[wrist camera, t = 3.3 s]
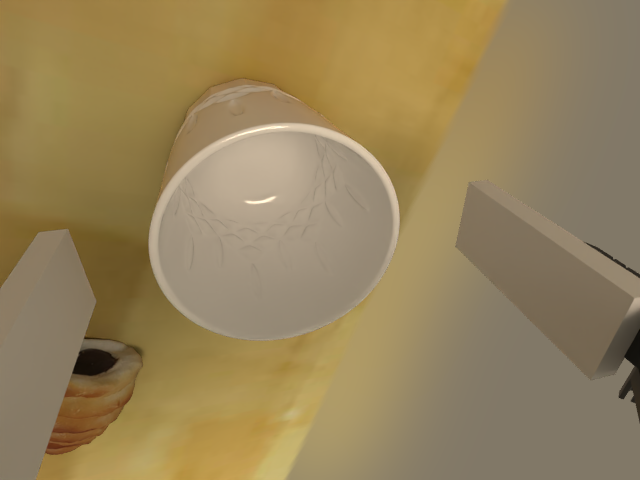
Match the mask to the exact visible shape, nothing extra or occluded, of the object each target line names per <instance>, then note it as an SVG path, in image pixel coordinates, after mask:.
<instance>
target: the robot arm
mask: <svg viewBox="0 0 640 480" xmlns="http://www.w3.org/2000/svg"><path fill="white" fill-rule="evenodd" d="M456 247H457V248H458V250H459V251H461V253H463V254H464V255H465V256H466V257H467V258H468V259H469V260H470V261H471V262H472V263H473V264H474V265H475V266H476V267H477V268H478V269H479V270H480V271H481V272H482V273H483V274H484V275H485V276H486V277H487V278H488V279H489V280H490V281H491V282H492V283H493V284H494V285H495V286H496V287H497V288H498V289H499V290H500V291H501V292H502V293H503V294H504V295H505V296H506V297H507V298H508V299H509V300H510V301H511V302H512V303H513V304H514V305H515V306H516V307H517V308H518V309H519V310H520V311H521V312H522V313H523V314H524V315H525V316H526V317H527V318H528V319H529V320H530V321H531V322H532V323H533V324H534V325H535V326H536V327H537V328H538V329H539V330H540V331H541V332H543V334H544V335H545V336H546V337H547V338H549V340H551V342H552V343H553V344H555V345H556V346H557V347H558V348H559V349H560V350H561V351H562V352H563V353H564V354H565V355H566V356H567V357H568V358H569V359H570V360H571V361H572V362H573V363H574V364H575V365H576V366H577V367H578V368H579V369H580V370H581V371H582V372H583V373H584V374H585V375H586V376H587V377H588V378H589V379H590V380H594V379H598V378H602V377H606V376H610V375H614V374H615V373H616V371H617V370H618V368H619V366H620V364H621V363H622V361H623V359H624V358H626V359H627V360H628V361H630V362H631V363H632V364H633V365H634V366H635V367H634V368H633V370H632V372H631V373H630V375H629V377H628V378H627V380H626V381H625V383H624V385H623V386H622V388H621V390H620V392H619V398H621V399H624V398H625V396H626V395H627V393H628V391H630V390H632V391H633V393H634V396H633V398H632V400H631V402H634V403H636V408H637V412H638V416H639V421H640V274H638V273H636V272H635V271H633V270H632V269H630V268H626V266H625V265H624V264H622V263H621V262H619V261H618V260H616V259H615V260H613V257H611V256H610V255H608V254H607V253H605V252H604V251H602V250H600V249H599V248H597V247H595V246H593V245H590V244H588V243H585V242H583V241H581V240H580V239H578V238H576V237H575V236H573V235H572V234H570V233H569V232H567V231H566V230H564V229H563V228H561V227H559V226H558V225H556V224H555V223H553V222H552V221H550V220H549V219H547V218H546V217H544V216H543V215H541V214H539V213H538V212H536V211H535V210H533V209H532V208H530V207H529V206H527V205H525V204H524V203H522V202H521V201H519V200H518V199H516V198H515V197H513V196H512V195H510V194H508V193H507V192H505V191H504V190H502V189H501V188H499V187H498V186H496V185H494V184H493V183H491V182H490V181H488V180H484V181H475V182H469V184H468V189H467V194H466V198H465V203H464V208H463V213H462V218H461V222H460V227H459V232H458V237H457V242H456ZM95 304H96V299H95V297H94V294H93V291H92V289H91V286H90V284H89V281H88V279H87V276H86V274H85V271H84V268H83V266H82V263H81V261H80V258H79V256H78V253H77V251H76V248H75V245H74V243H73V240H72V238H71V235H70V233H69V230H68V229H62V230H53V231H45V232H38V234H37V235H36V237H35V238H34V240H33V241H32V243H31V244H30V246H29V247H28V249H27V250H26V252H25V253H24V254H23V256H22V257H21V259H20V260H19V262H18V263H17V265H16V266H15V268H14V269H13V271H12V272H11V273H10V275H9V276H8V278H7V279H6V281H5V282H4V284H3V285H2V287H1V288H0V480H36V477H37V474H38V472H39V469H40V466H41V463H42V460H43V457H44V454H45V451H46V448H47V445H48V442H49V439H50V436H51V433H52V430H53V427H54V425H55V422H56V419H57V416H58V413H59V410H60V407H61V404H62V401H63V398H64V395H65V392H66V389H67V386H68V383H69V380H70V378H71V375H72V372H73V369H74V366H75V363H76V360H77V357H78V354H79V351H80V348H81V345H82V342H83V339H84V336H85V334H86V331H87V328H88V325H89V322H90V319H91V316H92V313H93V310H94V307H95Z"/></svg>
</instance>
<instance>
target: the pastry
mask: <svg viewBox="0 0 640 480" xmlns="http://www.w3.org/2000/svg"><path fill="white" fill-rule="evenodd" d="M142 367H143V363H142V357H141V356H140V355H139V354H138V353H137V352H136V351H135V349H134V348H133V347H128V346H126V345H125V344H124V343H121V342H117V341H114V340H102V339H83V342H82V345H81V348H80V351H79V354H78V357H77V360H76V363H75V366H74V369H73V372H72V375H71V378H70V380H69V383H68V386H67V389H66V392H65V395H64V398H63V401H62V404H61V407H60V410H59V413H58V416H57V419H56V422H55V425H54V427H53V430H52V433H51V436H50V439H49V442H48V445H47V448H46V451H45V453H47V454H50V455H58V454H63V453H67V452H70V451H72V450H75V449H76V448H78V447H79V446H81V445H83V444H89V443H90V442H91V441H92V440H93V439H95V438H96V436H99V435H101V434H102V433H103V432H104V431H105V430H106V428H107V427H108V425H109V424H110V423H112V422H113V421H115V420H116V419H117V417H118V416H119V414H120V413H121V410H122V409H123V407H124V405H125V404H126V403H127V402H128V401H129V400H130V398H131V396H132V394H133V390H134V386H135V380H136V377H137V374H138V372H139V370H140V369H141V368H142Z"/></svg>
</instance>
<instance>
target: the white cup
mask: <svg viewBox="0 0 640 480" xmlns="http://www.w3.org/2000/svg"><path fill="white" fill-rule="evenodd" d="M399 227H400V213H399V205H398V200H397V196H396V193H395V190H394V187H393V184H392V182H391V180H390V178H389V176H388V175H387V173H386V171H385V170H384V168H383V167H382V165H381V164H380V163H379V162H378V161H377V159H376V158H375V157H374V156H373V155H372V154H371V153H370V152H369V151H368V150H366V149H365V148H364V147H363V146H361V145H360V144H359V143H357V142H356V141H355V140H353V139H352V138H351V137H349V136H348V135H347V134H346V133H344V132H343V131H342V130H340V129H339V128H337V127H336V126H335V125H333V124H332V123H331V122H330V121H328V120H327V119H326V118H325V117H324V116H322V115H321V114H320V113H318V112H317V111H315V110H314V109H312V108H311V107H309V106H308V105H306V104H305V103H303V102H302V101H300V100H299V99H297V98H296V97H294V96H292V95H290V94H288V93H285V92H283V91H282V90H280V89H279V88H278V87H277V86H275V85H274V84H270V83H265V82H260V81H254V80H249V79H244V78H240V79H237V80H233V81H230V82H226V83H223V84H220V85H216V86H213V87H210V88H209V89H208V90H207V91H206V92H205V93H204V94H203V95H202V96H201V97H200V98H199V99H198V100H197V101H196V102H195V103H194V104H193V105H192V106H191V107H190V108H189V109H188V110H187V113H186V116H185V119H184V123H183V125H182V126H181V128H180V130H179V131H178V133H177V136H176V139H175V142H174V144H173V147H172V149H171V153H170V155H169V158H168V161H167V164H166V168H165V172H164V177H163V180H162V184H161V188H160V191H159V194H158V198H157V202H156V205H155V209H154V212H153V216H152V219H151V224H150V230H149V257H150V262H151V266H152V270H153V273H154V276H155V278H156V281H157V283H158V285H159V287H160V288H161V290H162V292H163V293H164V295H165V296H166V298H167V299H168V300H169V301H170V303H171V304H172V305H173V306H174V307H175V308H176V309H177V310H178V311H179V312H180V313H182V314H183V315H184V316H185V317H187V318H188V319H189V320H191V321H192V322H194V323H195V324H197V325H199V326H201V327H203V328H205V329H207V330H209V331H212V332H214V333H217V334H220V335H223V336H227V337H231V338H236V339H242V340H254V341H268V340H279V339H286V338H291V337H295V336H299V335H303V334H306V333H309V332H312V331H315V330H317V329H320V328H322V327H324V326H326V325H328V324H330V323H332V322H334V321H336V320H337V319H339V318H341V317H342V316H344V315H345V314H347V313H348V312H349V311H351V310H352V309H353V308H354V307H356V306H357V305H358V304H359V303H360V302H361V301H362V300H364V299H365V298H366V297H367V295H368V294H369V293H370V292H371V291H372V290H373V289H374V288H375V286H376V285H377V284H378V282H379V281H380V279H381V278H382V276H383V275H384V273H385V271H386V270H387V268H388V266H389V264H390V262H391V259H392V257H393V254H394V251H395V248H396V245H397V240H398V235H399Z"/></svg>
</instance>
